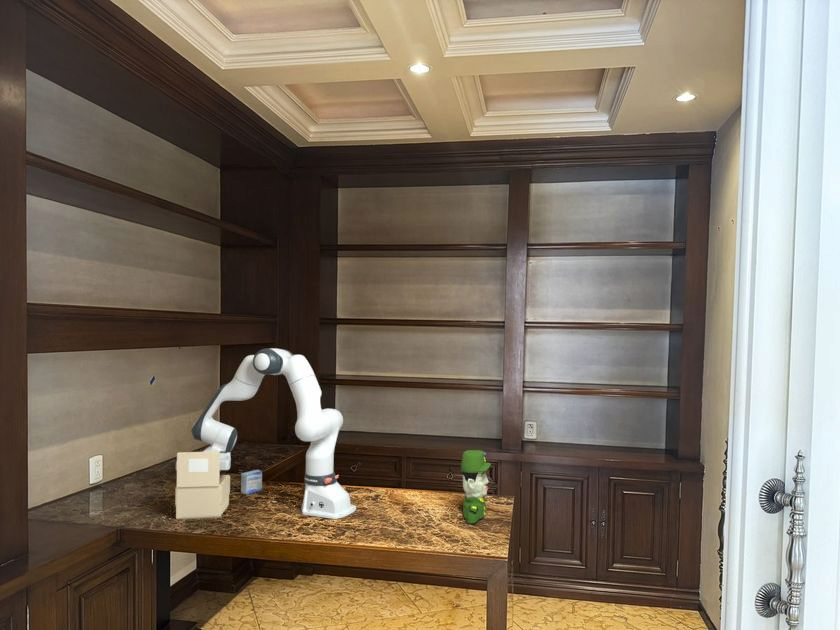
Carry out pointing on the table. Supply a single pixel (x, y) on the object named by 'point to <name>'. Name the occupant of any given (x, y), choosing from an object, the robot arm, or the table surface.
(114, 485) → the table surface
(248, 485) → the medicine box
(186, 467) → the carton flap
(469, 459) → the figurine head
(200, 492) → the carton
